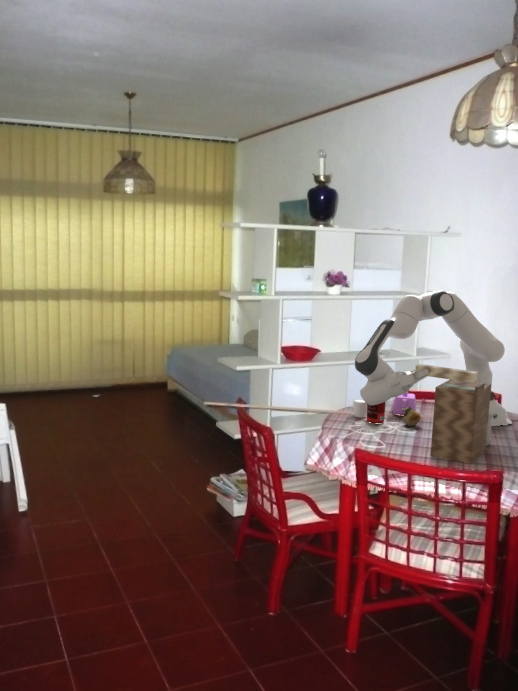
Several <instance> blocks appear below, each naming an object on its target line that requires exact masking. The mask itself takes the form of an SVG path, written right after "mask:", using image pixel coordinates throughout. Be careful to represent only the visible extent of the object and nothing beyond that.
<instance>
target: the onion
mask: <svg viewBox="0 0 518 691" xmlns="http://www.w3.org/2000/svg"><path fill="white" fill-rule="evenodd" d="M401 410H402V411H403V412H406V413H405V414H404V416H402V420H403V423H404V424H405V426H408V427H415V426H417V425H418V423H420V421H421V419H422V417H421V414H420V413H419V412H417V410H416V411H414V410H412V409H411V407H407V408H406V409H403V408H402V409H401Z"/></svg>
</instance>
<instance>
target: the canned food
mask: <svg viewBox="0 0 518 691" xmlns="http://www.w3.org/2000/svg"><path fill="white" fill-rule="evenodd" d="M386 402H387V401H385V402H383V403H380V404H377V405H368V404H367V415H366V422H367V421H368V422H371V423H382V424H384V423H383V422H385V415H386ZM368 422H367V423H368ZM371 423H370V424H371Z"/></svg>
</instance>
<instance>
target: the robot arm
mask: <svg viewBox="0 0 518 691" xmlns="http://www.w3.org/2000/svg"><path fill="white" fill-rule="evenodd" d="M439 317H442V319H443V320H444V322H445V323H446V325H447V326H448V327H449V328H450V329H451V331H452V332H453V333H454V335H455V336H457V338H459V339H460V342H459V346H460V349H461V351H462V353H463V357H464V358H463V359H464V364H465V370H467V371H475V372H478V377H477V382H481V383H489V384H491V388H492V385H493V384H492V383H493V372H492V369H491V368H490V364H489V363H496V362H499V361H500V360H501V359H502V358H503V356H504V354H505V346H504V343H502V341H501V340H499V339H498V338H497V337H496V336H494V334H492V332H491V331H490V330H489V329H488V328H487V327H485V326H484V324H482V322H480V321H479V320H478V318H477V317H476V316H475V315H474V314H473V312H472V311H471V309H470V308H469V307H468V306H467V305H466V303H465V302H464V301H463V299H461V298H460V297H459V296H458V295H456V293H454V292H452V291H445V290H437V291H432V292H426V293H423V294H420V295H415V294H407V295H404V296H403V297H402V298H401V299H400V301H399V302H398V303H397V305H396V307H395V308H394V310H393V313H392V314H391V316H390V318H387V319H385V320H383V321H382V322H381V323H380V324H379V325H378V326H377V327H376V328H377V329H376V330H375V331H374V332H373V333H372V336H371V337H370V338H369V339H368V341H367V343H366V344H365V346H364V347H363V348H362V349H361V350H360V351H359V353H358V354H357V355H356V357H355V359H354V368H355V370H356V371H357V372H358V373H359V374H361V375H362V376H364V377H366V379H367V381H366V384H365V385H364V386H363V387H362V388H361V389H360V390H359V393H360V396H361V399H363V400H364V401H365V402H366V403H367V404H368V405H377V404H380V403H383V402H385V401H386V402H388V401H389V400H390V399H391V398H392V399H393V398H395V397H397V396H400V395H402V394H405V393H407V392H408V393H409V391H410V389H411V388H413V387H414V385H415V384H417V383H419V382H420V381H423V380H424V379H426V378H428V376H424V375H426V374H429V373H430V371H429V369H426V370H423V371H420V372H417V371H415V369H413V370H409V371H399V370H398V371H397V370H396V372H395V370H394V369H393V367H392V366H391V365H390V364H388V363H387V362H386V361H385V360H384V359H383V358H382V357H381V356H380V351H381V349H382V348H383V345H384V344H385V343H386V341H387V340H388V339H389V338H392V339H395V340H406V339H409V338H410V337H412V336H413V334H414V333H415V331H416V330H417V327H418V325H419V323H420V321H421V322H422V321H428V320H433V319H436V318H439ZM495 398H496V399H499V398H500V394H499V393H498V392H494V391H492V390H491V394H490V405H489V412H490V413H492V419H490V423H491V427H500V425H503V426H509V425H508V424H512V425H513V423H512V420H510V419H509V418H508V416H507V415H508V414H507V411H506V408H505V407H504V406H503V405H501V404H500V403H499V402H498V401H497V400H496V399H495ZM386 402H385V403H386Z"/></svg>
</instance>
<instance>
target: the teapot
mask: <svg viewBox="0 0 518 691" xmlns="http://www.w3.org/2000/svg"><path fill="white" fill-rule="evenodd" d="M393 398H394V399H393V403H392V414H400V415H404V414H405V413H406V412H403V411H402V410H401V409H402V408H403V409H406V408H407V407H411V409H412V410H414V411H416V412H417V401H416V399H417V398H416V395H415V394H414V393H409V391H408V392H407V393H405V394H402V395H400V396H397V397H393Z"/></svg>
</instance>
